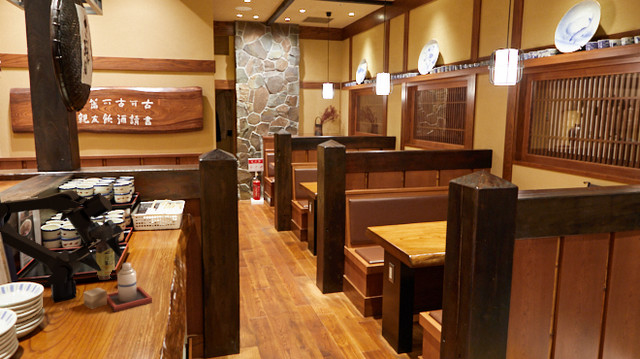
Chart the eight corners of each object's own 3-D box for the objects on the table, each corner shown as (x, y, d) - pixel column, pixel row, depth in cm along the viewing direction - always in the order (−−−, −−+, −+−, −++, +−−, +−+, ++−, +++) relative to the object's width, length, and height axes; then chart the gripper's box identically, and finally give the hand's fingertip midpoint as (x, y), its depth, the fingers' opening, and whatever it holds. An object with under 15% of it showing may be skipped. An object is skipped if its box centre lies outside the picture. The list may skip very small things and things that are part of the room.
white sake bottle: (126, 303, 139) (125, 268, 138) (114, 299, 142) (113, 264, 140) (140, 297, 144) (139, 263, 143) (128, 293, 147) (127, 260, 145)
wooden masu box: (92, 309, 137) (91, 296, 136) (84, 305, 140) (83, 292, 139) (107, 304, 141) (106, 291, 140) (99, 300, 144) (98, 287, 143)
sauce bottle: (107, 281, 159) (105, 229, 156) (92, 279, 160) (90, 228, 157) (119, 275, 165) (116, 225, 162) (104, 273, 166) (102, 224, 163)
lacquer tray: (114, 312, 135) (114, 307, 135) (104, 299, 144) (104, 294, 143) (151, 302, 143) (151, 297, 142) (140, 291, 151) (139, 286, 151)
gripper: (74, 231, 130) (104, 272, 133) (119, 204, 146) (144, 242, 149) (54, 241, 135) (83, 281, 138) (99, 215, 151) (124, 251, 154)
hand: (110, 263), depth 145 cm, fingers open, 9 cm apart
